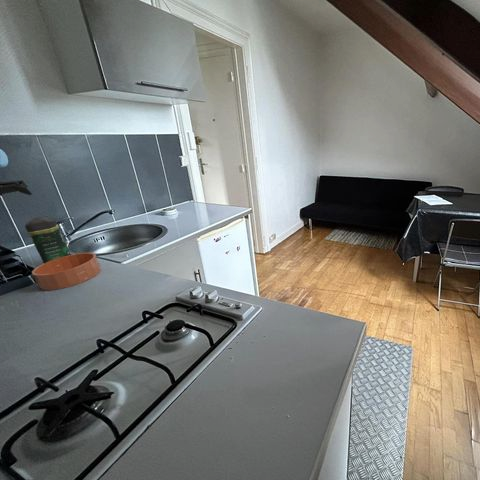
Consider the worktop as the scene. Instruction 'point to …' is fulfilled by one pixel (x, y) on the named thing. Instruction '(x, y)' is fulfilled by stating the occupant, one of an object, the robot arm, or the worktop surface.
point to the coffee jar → (47, 238)
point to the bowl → (66, 271)
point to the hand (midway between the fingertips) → (5, 202)
